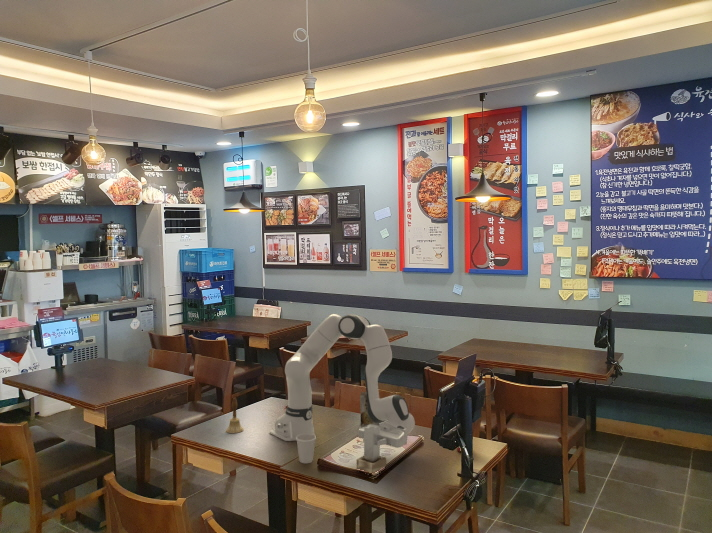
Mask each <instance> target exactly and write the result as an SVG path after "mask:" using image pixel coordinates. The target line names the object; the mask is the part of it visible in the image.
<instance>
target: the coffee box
mask: <svg viewBox="0 0 712 533" xmlns="http://www.w3.org/2000/svg"><path fill="white" fill-rule="evenodd" d="M359 397H360V398H359V399H360V428H362V427H365V426H367V425H369V424H373V425H377V426H380V423H375V422H373V421H372V420H371V419H370V418H369V417H368V414H367V393H366V391H361V392H360V396H359Z"/></svg>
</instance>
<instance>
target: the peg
mask: <svg viewBox="0 0 712 533" xmlns="http://www.w3.org/2000/svg"><path fill="white" fill-rule="evenodd" d="M377 440H380V425H379V426H377V425H373V424H369V425H367V426H365V427H364V442H363V456H364V459H365V460H369V461H372V462H374V461H376V460H377V459H379V458H380V456H381V454H380V453H381V452H380V450H381V449H380V448H381V447H380V446H381V445H380V446H377V445H375V444H376V443H375V441H377Z"/></svg>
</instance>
